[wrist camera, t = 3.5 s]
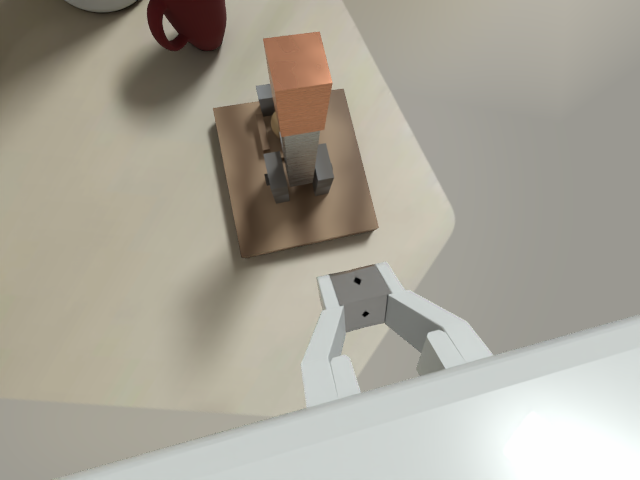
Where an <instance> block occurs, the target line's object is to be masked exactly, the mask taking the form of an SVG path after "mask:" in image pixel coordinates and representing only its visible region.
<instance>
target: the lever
mask: <svg viewBox="0 0 640 480" xmlns="http://www.w3.org/2000/svg"><path fill="white" fill-rule="evenodd" d="M263 41H264V47H265V54H266V60H267V66H268V73H269V79H270V85H271V91H272V97H273V102H274V106H275V111H276V116H277V120H278V125H279V129H280V132H279V134H280V141H281V148H282V152H283V157H284V161H285V166H286V170H287V175H288V180H289V184H290V187H293V186H299V185H304V184H309V183H313V178H314V171H315V164H316V156H317V149H318V142H319V135H320V131H321V130H324V129H325V123H326V117H327V111H328V106H329V100H330V94H331V88H332V79H331V75H330V71H329V67H328V63H327V59H326V55H325V51H324V47H323V43H322V39H321V35H320V32H313V33H305V34H297V35H289V36H280V37H272V38H264V39H263Z"/></svg>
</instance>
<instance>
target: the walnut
mask: <svg viewBox="0 0 640 480" xmlns="http://www.w3.org/2000/svg"><path fill="white" fill-rule="evenodd" d="M271 127H272V130H273V132H274V134H275V135H276V136H277V137H278V138H279V139H280V134H279V132H280V129H279V125H278V120H277V116H276V111H275V112H274V113H273V115H272V118H271Z"/></svg>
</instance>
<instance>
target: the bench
mask: <svg viewBox="0 0 640 480" xmlns="http://www.w3.org/2000/svg"><path fill="white" fill-rule="evenodd" d="M256 90H257V94H258V99H259V101H258V102H251V103H244V104H238V105H231V106H225V107H218V108H213V111H214V116H215V122H216V127H217V132H218V137H219V143H220V148H221V153H222V158H223V163H224V169H225V174H226V179H227V184H228V190H229V195H230V200H231V205H232V210H233V216H234V221H235V226H236V231H237V237H238V242H239V247H240V252H241V257H242V258H249V257H254V256H258V255H263V254H268V253H272V252H277V251H282V250H286V249H291V248H295V247H300V246H305V245H309V244H314V243H318V242H323V241H328V240H332V239H337V238H342V237H346V236H351V235H355V234H360V233H365V232H369V231H374V230H376V229H377V228H379V226H378V223H377V219H376V215H375V211H374V207H373V203H372V199H371V195H370V191H369V187H368V183H367V179H366V175H365V171H364V167H363V163H362V160H361V156H360V152H359V148H358V144H357V140H356V136H355V132H354V128H353V124H352V120H351V116H350V112H349V108H348V104H347V101H346V97H345V93H344V89H337V90H331V94H330V100H329V106H328V111H327V117H326V123H325V129H324V130H321V131H320V135H319V142H318V149H317V156H316V164H315V171H314V178H313V183H309V184H304V185H299V186H293V187H290V184H289V180H288V175H287V170H286V166H285V161H284V157H283V152H282V148H281V141H280V139H279V138H278V137H277V136H276V135H275V134H274V132H273V130H272V127H271V118H272V115H273V113H274V112H275V106H274V102H273V97H272V91H271V85H270V84H267V85H260V86H256Z"/></svg>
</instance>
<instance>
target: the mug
mask: <svg viewBox="0 0 640 480" xmlns="http://www.w3.org/2000/svg"><path fill="white" fill-rule="evenodd" d="M163 14H164V15H165V16H166V18H167V19H168V20H169V22H170V23H171V25H172V26H173V27H174V28H175V30H176V31H177V32H178V33H179V35H178V36H177V37H176V38H175V39H173V40H171V41H168V39H167V38H166V36H165V33H164V30H163V25H162V19H163ZM147 19H148V24H149V28H150V30H151V33H152V35H153V36H154V38H155V39H156V41H157V42H158V43H159V44H160V45H161V46H162V47H164V48H166V49H168V50H170V51H178V50H180V49H182V48H183V47H184V46H185V45H186V44H187V42H190V43H191V44H192V45H194V46H195V47H197V48H198V49H200V50H203V51H211V50H214V49H216V48H218V47H219V46H220V45H221V43H222V40H223V37H224V32H225V28H226V7H225V0H150V2H149V4H148V8H147Z"/></svg>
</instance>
